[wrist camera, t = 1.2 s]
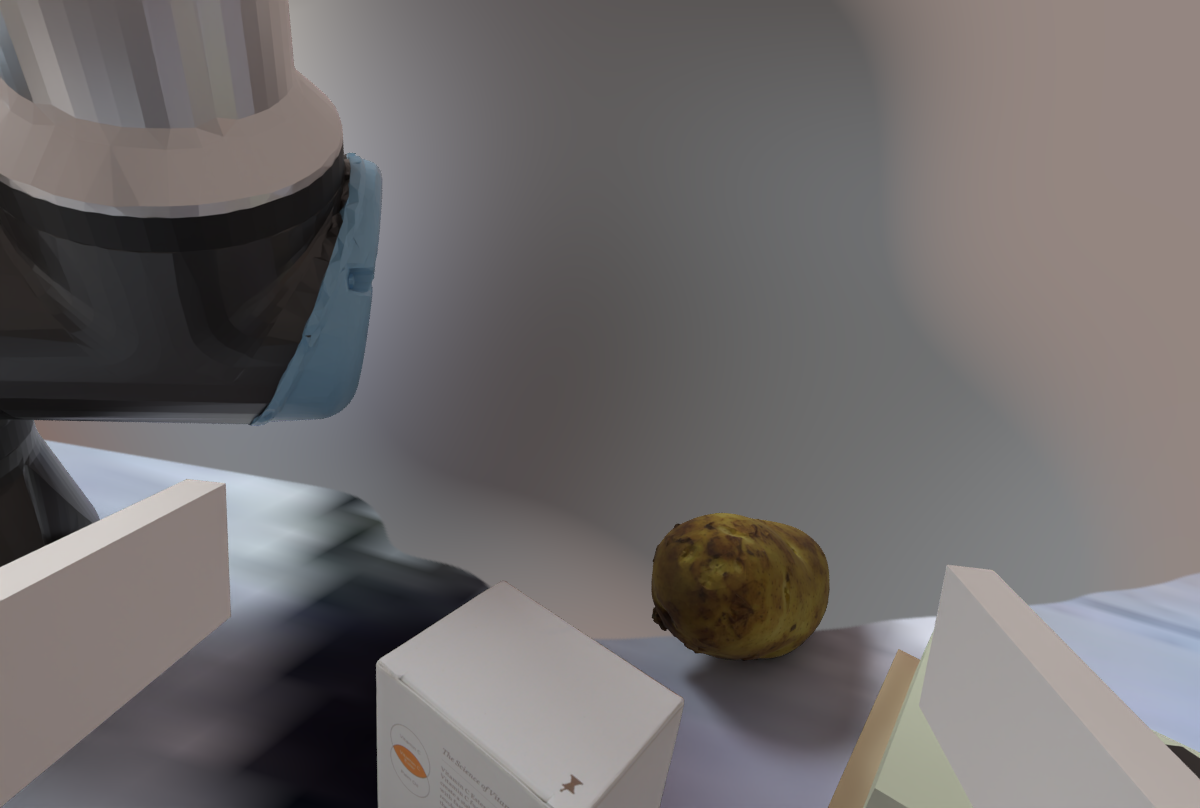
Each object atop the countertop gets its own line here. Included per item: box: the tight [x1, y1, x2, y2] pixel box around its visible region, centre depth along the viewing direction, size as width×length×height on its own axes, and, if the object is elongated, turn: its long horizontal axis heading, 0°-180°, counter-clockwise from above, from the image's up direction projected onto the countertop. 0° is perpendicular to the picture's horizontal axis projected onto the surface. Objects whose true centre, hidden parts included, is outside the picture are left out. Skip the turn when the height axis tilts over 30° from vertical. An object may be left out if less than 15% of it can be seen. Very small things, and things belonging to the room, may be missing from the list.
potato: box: [652, 513, 829, 660], centre depth 38 cm, size 8×13×8 cm, turn 114°
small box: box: [376, 581, 684, 808], centre depth 24 cm, size 8×6×10 cm
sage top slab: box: [863, 631, 1200, 808], centre depth 28 cm, size 11×11×3 cm
